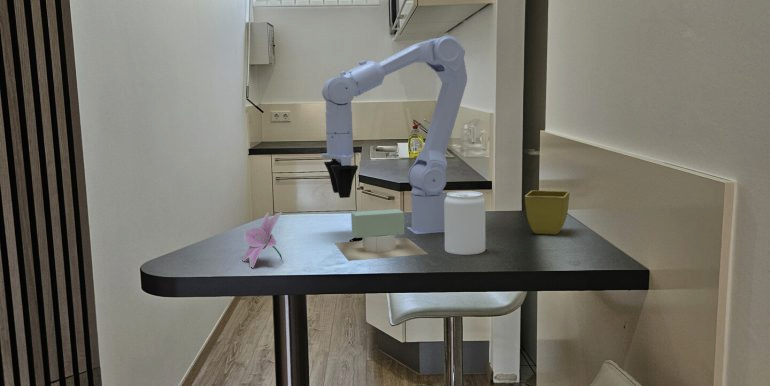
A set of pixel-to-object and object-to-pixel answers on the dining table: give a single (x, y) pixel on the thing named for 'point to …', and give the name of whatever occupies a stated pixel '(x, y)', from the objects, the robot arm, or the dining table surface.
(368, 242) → the white octagonal prism
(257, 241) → the lily
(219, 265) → the dining table surface
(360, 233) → the green rectangular block
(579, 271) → the dining table surface
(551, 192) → the flower pot
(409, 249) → the mat
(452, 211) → the beverage can
